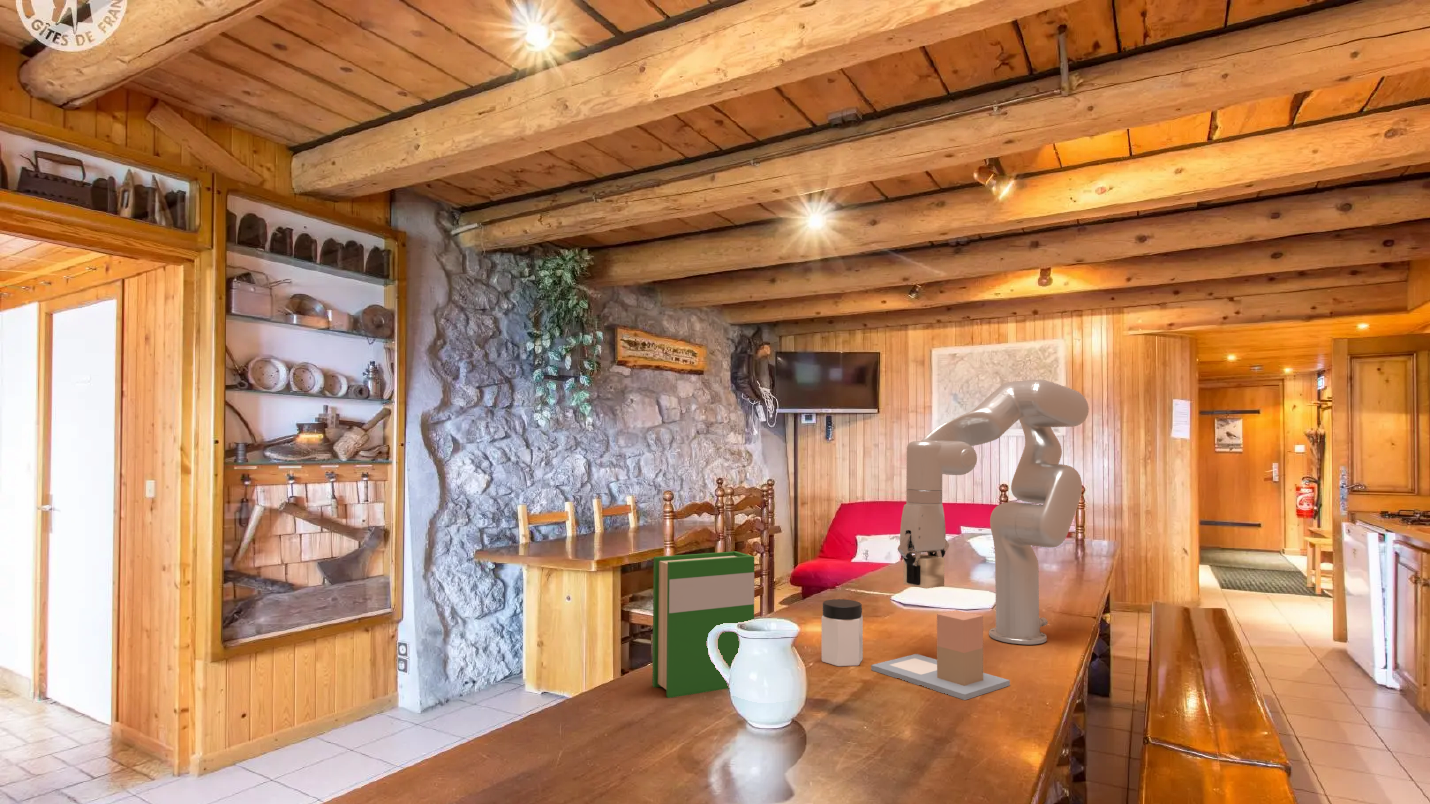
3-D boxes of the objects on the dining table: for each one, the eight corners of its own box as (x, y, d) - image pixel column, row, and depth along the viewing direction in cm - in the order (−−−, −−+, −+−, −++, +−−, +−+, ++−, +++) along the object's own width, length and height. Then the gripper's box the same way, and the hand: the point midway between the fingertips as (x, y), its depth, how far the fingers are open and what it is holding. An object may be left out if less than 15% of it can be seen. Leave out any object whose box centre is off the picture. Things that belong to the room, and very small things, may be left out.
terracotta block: (956, 641, 151) (956, 610, 152) (983, 647, 146) (982, 615, 147) (937, 645, 148) (936, 614, 148) (964, 652, 143) (963, 620, 143)
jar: (871, 662, 161) (871, 603, 162) (845, 669, 156) (845, 609, 156) (839, 652, 168) (839, 597, 168) (813, 659, 163) (813, 601, 163)
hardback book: (668, 698, 138) (669, 562, 139) (652, 686, 145) (653, 556, 146) (753, 684, 146) (754, 556, 147) (735, 673, 153) (735, 551, 154)
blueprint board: (916, 658, 164) (916, 625, 164) (1009, 685, 146) (1009, 648, 146) (871, 670, 155) (871, 634, 156) (964, 700, 138) (964, 660, 138)
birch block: (921, 581, 170) (921, 554, 170) (944, 586, 165) (944, 557, 165) (903, 584, 166) (903, 556, 167) (926, 588, 162) (926, 559, 162)
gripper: (935, 496, 175) (935, 576, 174) (883, 498, 165) (882, 583, 164) (963, 498, 169) (963, 581, 168) (911, 500, 159) (910, 589, 158)
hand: (923, 581), depth 166 cm, fingers closed on birch block, 6 cm apart
